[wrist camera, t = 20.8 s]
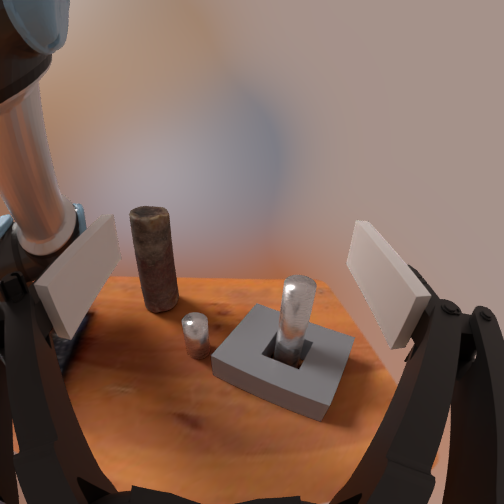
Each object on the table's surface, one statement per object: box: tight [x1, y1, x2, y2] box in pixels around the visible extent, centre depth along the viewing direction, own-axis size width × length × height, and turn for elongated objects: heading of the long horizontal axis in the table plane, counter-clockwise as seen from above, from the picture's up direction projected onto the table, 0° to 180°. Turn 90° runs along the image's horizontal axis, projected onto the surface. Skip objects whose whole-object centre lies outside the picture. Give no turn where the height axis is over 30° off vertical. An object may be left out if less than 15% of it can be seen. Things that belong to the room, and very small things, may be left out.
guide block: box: [211, 304, 355, 422], centre depth 40 cm, size 18×14×5 cm
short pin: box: [182, 312, 210, 359], centre depth 42 cm, size 4×4×7 cm
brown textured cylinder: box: [129, 206, 179, 313], centre depth 49 cm, size 8×7×20 cm
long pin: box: [273, 275, 317, 369], centre depth 37 cm, size 4×4×17 cm
